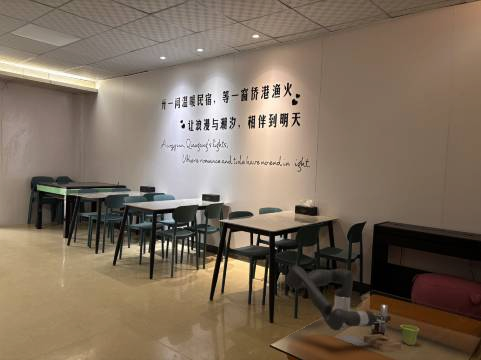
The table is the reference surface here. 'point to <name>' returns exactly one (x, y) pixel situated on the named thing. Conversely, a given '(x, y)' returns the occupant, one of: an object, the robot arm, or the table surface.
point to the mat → (353, 340)
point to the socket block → (382, 342)
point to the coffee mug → (376, 329)
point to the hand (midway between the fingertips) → (387, 317)
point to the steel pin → (383, 313)
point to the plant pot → (409, 334)
